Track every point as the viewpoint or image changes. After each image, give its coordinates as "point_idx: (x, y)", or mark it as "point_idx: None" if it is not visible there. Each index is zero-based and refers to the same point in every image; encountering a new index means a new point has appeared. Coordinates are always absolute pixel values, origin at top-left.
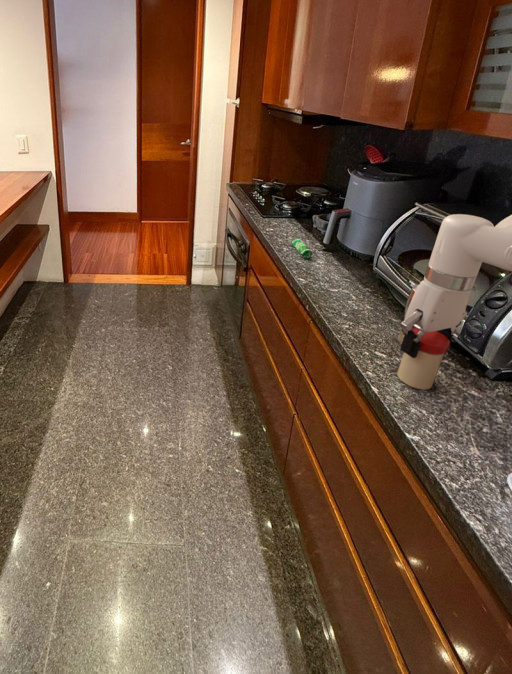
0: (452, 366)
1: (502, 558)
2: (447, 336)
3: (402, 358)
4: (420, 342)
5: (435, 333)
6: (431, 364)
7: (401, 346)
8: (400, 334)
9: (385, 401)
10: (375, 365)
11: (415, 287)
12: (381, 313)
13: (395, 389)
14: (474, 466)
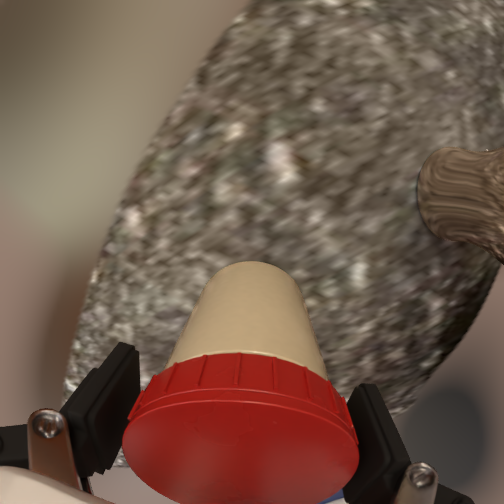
0: (424, 326)
1: None
2: (348, 491)
3: (204, 302)
4: (98, 472)
5: (319, 476)
6: None
7: (113, 352)
8: (449, 155)
9: (83, 314)
10: (193, 199)
11: None
12: (498, 61)
13: (144, 306)
14: None
